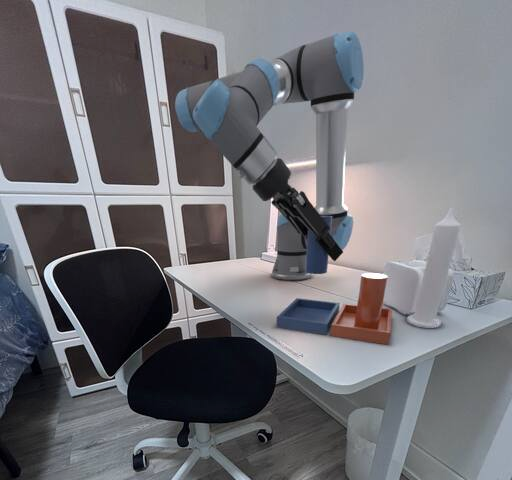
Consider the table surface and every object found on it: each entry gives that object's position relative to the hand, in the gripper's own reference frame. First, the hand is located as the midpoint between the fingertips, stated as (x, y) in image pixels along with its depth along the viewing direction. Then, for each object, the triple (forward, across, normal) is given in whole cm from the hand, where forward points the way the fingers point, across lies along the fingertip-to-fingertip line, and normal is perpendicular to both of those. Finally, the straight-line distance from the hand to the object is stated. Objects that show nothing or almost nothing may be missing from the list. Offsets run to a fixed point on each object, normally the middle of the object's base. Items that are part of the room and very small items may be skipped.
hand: (331, 254), depth 67 cm
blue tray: (+7, +1, -14) cm, 16 cm away
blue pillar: (0, 0, -5) cm, 5 cm away
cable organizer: (+28, +1, +6) cm, 29 cm away
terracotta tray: (+14, +9, -8) cm, 18 cm away
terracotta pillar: (+13, +12, -8) cm, 19 cm away
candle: (+25, +11, +3) cm, 27 cm away
